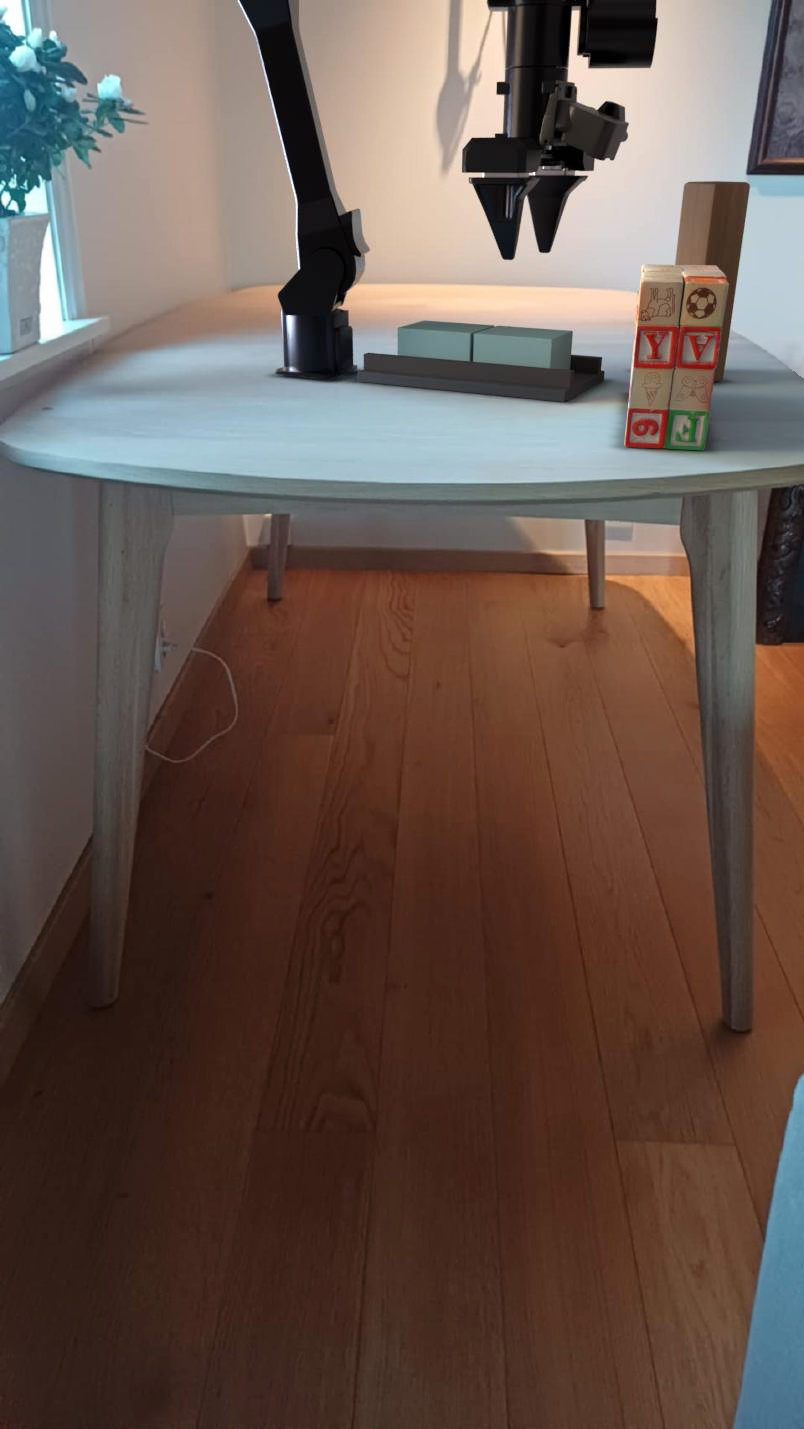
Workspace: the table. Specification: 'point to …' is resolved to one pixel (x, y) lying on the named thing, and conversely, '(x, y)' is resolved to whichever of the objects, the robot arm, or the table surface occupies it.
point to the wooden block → (714, 238)
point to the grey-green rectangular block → (524, 347)
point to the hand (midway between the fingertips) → (527, 256)
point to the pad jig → (472, 366)
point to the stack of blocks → (675, 355)
